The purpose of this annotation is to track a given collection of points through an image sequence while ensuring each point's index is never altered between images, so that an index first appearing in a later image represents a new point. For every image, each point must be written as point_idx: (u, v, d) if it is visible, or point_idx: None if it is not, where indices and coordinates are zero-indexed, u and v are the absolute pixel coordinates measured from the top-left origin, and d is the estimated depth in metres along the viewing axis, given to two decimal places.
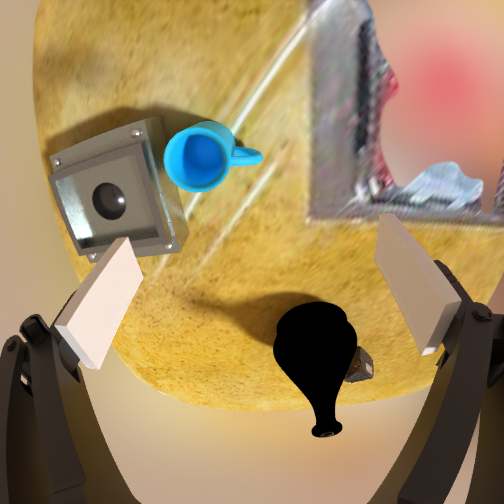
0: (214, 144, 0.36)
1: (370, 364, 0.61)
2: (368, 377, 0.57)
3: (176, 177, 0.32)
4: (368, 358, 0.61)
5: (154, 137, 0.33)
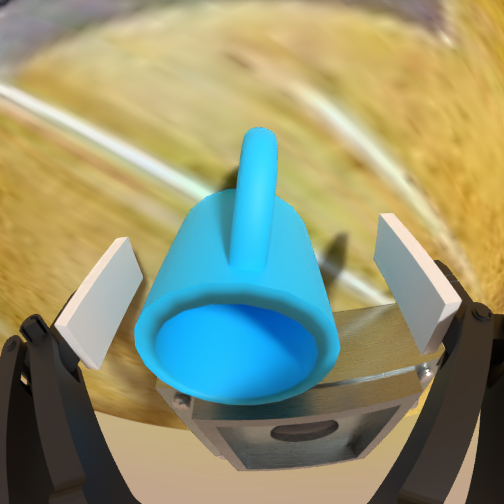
0: None
1: None
2: None
3: (280, 393, 0.11)
4: None
5: None
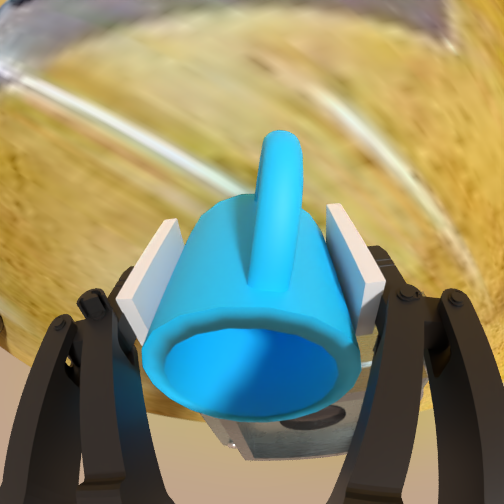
0: None
1: None
2: None
3: (294, 411, 0.11)
4: None
5: None
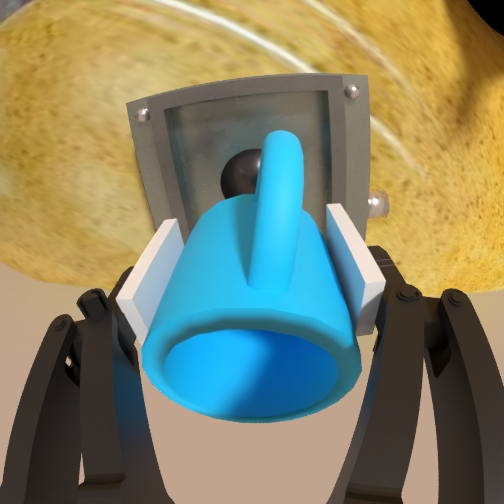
0: None
1: None
2: None
3: (294, 412, 0.11)
4: None
5: None
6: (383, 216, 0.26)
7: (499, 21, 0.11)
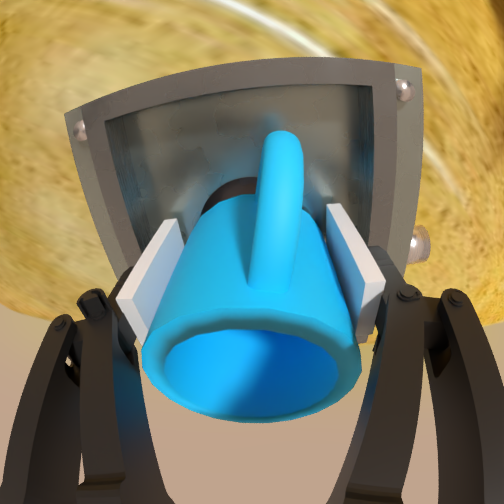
0: None
1: None
2: None
3: (294, 412, 0.11)
4: None
5: None
6: (421, 262, 0.18)
7: None
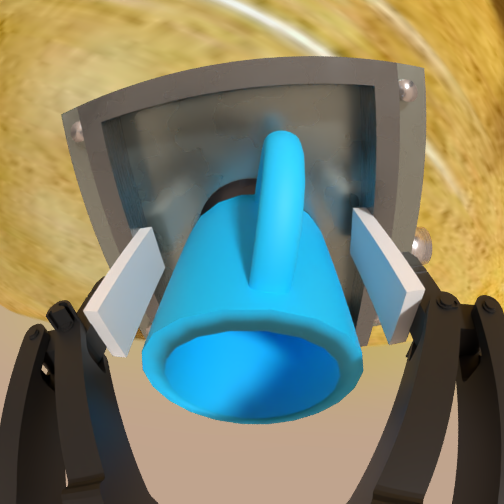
0: None
1: None
2: None
3: (295, 413, 0.10)
4: None
5: None
6: (422, 264, 0.18)
7: None
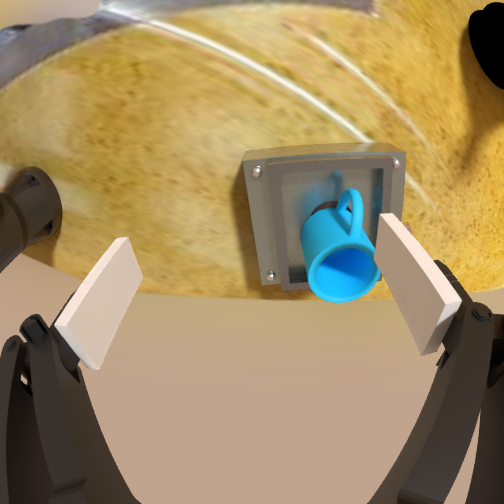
0: None
1: None
2: None
3: (357, 293, 0.29)
4: None
5: (267, 154, 0.31)
6: None
7: (502, 83, 0.21)
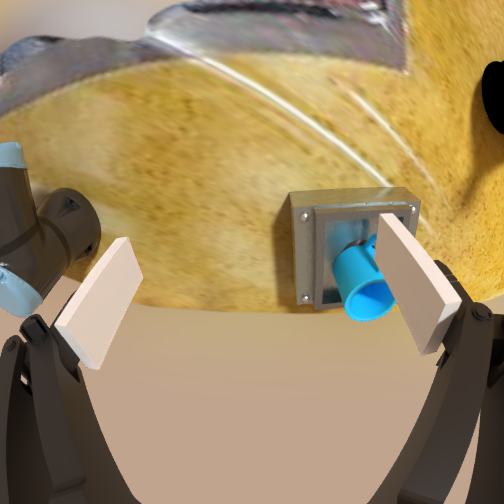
0: None
1: None
2: None
3: (379, 314, 0.36)
4: None
5: (311, 200, 0.38)
6: None
7: None
